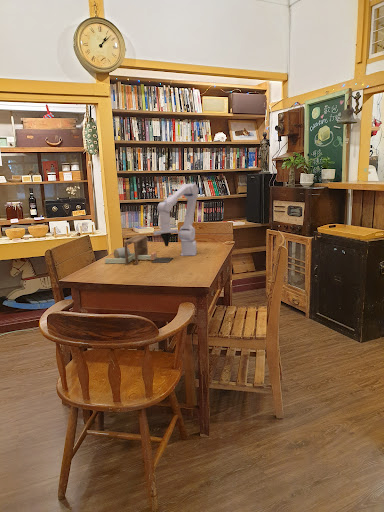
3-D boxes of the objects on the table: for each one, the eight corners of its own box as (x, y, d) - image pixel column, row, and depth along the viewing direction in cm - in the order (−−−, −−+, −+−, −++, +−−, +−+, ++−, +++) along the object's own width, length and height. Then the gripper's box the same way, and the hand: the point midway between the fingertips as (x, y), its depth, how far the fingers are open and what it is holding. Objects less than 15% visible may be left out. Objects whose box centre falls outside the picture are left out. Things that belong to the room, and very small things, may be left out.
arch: (148, 256, 230) (146, 235, 227) (137, 264, 209) (135, 241, 206) (137, 256, 231) (135, 235, 228) (125, 264, 210) (123, 241, 208)
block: (159, 256, 226) (159, 250, 225) (151, 263, 210) (151, 256, 209) (115, 256, 231) (115, 250, 230) (105, 263, 215) (104, 256, 214)
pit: (172, 258, 222) (172, 257, 222) (168, 262, 211) (168, 262, 211) (156, 258, 224) (156, 257, 224) (151, 262, 213) (151, 262, 212)
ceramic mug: (113, 259, 224) (112, 247, 223) (125, 257, 229) (124, 245, 227) (121, 262, 216) (120, 250, 214) (133, 260, 221) (132, 248, 219)
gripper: (174, 221, 218) (175, 243, 221) (151, 223, 213) (152, 246, 216) (178, 222, 212) (180, 245, 215) (154, 224, 207) (156, 248, 210)
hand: (166, 246), depth 215 cm, fingers closed
